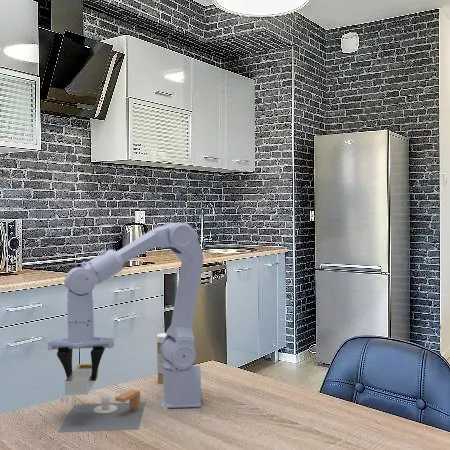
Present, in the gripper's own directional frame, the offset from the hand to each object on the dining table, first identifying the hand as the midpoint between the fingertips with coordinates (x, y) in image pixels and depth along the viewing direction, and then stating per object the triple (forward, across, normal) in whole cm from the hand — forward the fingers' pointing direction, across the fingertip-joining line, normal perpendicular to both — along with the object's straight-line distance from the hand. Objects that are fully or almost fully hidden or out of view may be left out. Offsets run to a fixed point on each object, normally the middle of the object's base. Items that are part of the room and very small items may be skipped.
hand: (82, 380), depth 126 cm
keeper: (+9, +10, +1) cm, 13 cm away
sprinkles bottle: (+9, +17, +24) cm, 31 cm away
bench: (+9, +5, 0) cm, 10 cm away
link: (+1, 0, +1) cm, 2 cm away
